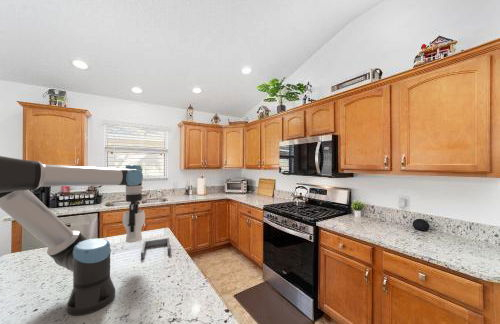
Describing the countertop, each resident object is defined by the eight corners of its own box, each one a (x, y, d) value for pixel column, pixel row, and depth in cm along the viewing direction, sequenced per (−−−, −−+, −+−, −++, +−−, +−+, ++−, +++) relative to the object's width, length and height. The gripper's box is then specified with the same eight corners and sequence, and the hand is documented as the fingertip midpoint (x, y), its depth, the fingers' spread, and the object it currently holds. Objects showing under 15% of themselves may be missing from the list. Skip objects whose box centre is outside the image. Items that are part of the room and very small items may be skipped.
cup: (149, 236, 115) (149, 210, 115) (136, 244, 104) (136, 214, 104) (131, 236, 116) (131, 209, 116) (117, 243, 105) (117, 214, 105)
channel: (169, 255, 123) (169, 248, 123) (140, 259, 117) (140, 252, 117) (169, 243, 141) (169, 237, 141) (144, 247, 135) (144, 241, 135)
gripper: (139, 195, 101) (139, 240, 101) (143, 190, 122) (143, 227, 122) (121, 197, 98) (121, 243, 98) (129, 191, 119) (129, 229, 119)
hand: (134, 234), depth 110 cm, fingers closed on cup, 11 cm apart
